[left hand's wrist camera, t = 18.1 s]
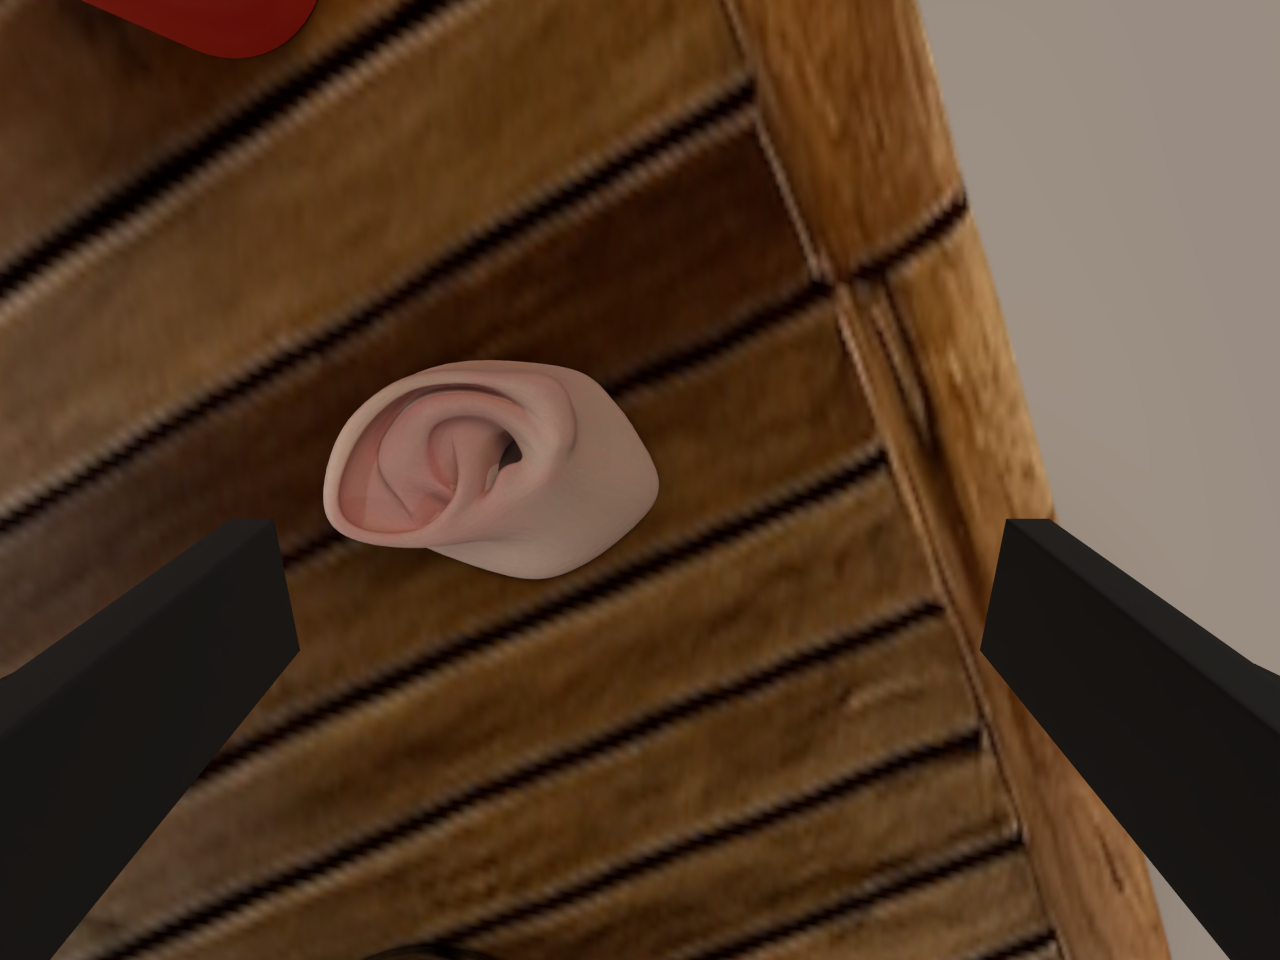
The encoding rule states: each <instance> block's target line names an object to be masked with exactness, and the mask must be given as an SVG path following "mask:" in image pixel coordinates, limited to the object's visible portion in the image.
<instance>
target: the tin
mask: <svg viewBox="0 0 1280 960" xmlns="http://www.w3.org/2000/svg"><path fill="white" fill-rule="evenodd" d="M82 1H84V2H86V3H89V4H91V5H93V6H96V7H98V8H100V9H102V10H105V11H107V12H109V13H112V14H114V15H116V16H118V17H121V18H123V19H125V20H127V21H130V22H132V23H134V24H137V25H139V26H141V27H143V28H146V29H148V30H150V31H153V32H155V33H157V34H159V35H162V36H164V37H166V38H168V39H171V40H173V41H175V42H178V43H180V44H182V45H184V46H187V47H189V48H191V49H194V50H196V51H199V52H202V53H205V54H208V55H212V56H217V57H221V58H235V59H236V58H248V57H253V56H257V55H261V54H264V53H267V52H269V51H271V50H274V49H276V48H277V47H279V46H280V45H282V44H283V43H285V42H286V41H288V40H289V39H290V38H291V37H292V36H293V35H294V34H296V33H297V31H298V30H299V29H300V28H301V27H302V25H303V24H304V23H305V22H306V20H307V18H308V17H309V15H310V13H311V12H312V10H313V8H314V5H315V3H316V1H317V0H82Z"/></svg>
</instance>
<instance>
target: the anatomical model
mask: <svg viewBox="0 0 1280 960" xmlns="http://www.w3.org/2000/svg"><path fill="white" fill-rule="evenodd" d="M658 490H659V480H658V475H657V471H656V468H655V466H654V464H653V462H652V459H651V457H650V455H649V453H648V451H647V450H646V448H645V446H644V445H643V443H642V441H641V440H640V438H639V436H638V434H637V433H636V431H635V429H634V428H633V426H632V425H631V423H630V422H629V420H628V419H627V417H626V416H625V414H624V413H623V412H622V411H621V409H620V408H619V407H618V406H617V405H616V403H615V402H614V401H613V400H612V399H611V397H610V396H609V395H608V394H607V393H606V392H605V390H604V389H603V388H602V387H601V386H600V385H599V384H598V383H596V382H595V381H594V380H593V379H591V378H590V377H588V376H587V375H585V374H583V373H581V372H578V371H576V370H573V369H569V368H564V367H560V366H554V365H546V364H539V363H529V362H517V361H497V360H483V361H464V362H457V363H449V364H444V365H441V366H437V367H433V368H429V369H427V370H424V371H421V372H419V373H416V374H414V375H411V376H408V377H405V378H403V379H400V380H398V381H396V382H394V383H392V384H391V385H389V386H387V387H385V388H384V389H382V390H381V391H379V392H378V393H377V394H375V395H374V396H372V397H371V398H370V399H369V400H368V401H366V402H365V403H364V404H363V405H362V406H361V407H360V408H359V409H358V410H357V411H356V412H355V413H354V414H353V415H352V417H351V418H350V419H349V420H348V421H347V423H346V424H345V426H344V427H343V429H342V430H341V432H340V434H339V436H338V438H337V440H336V442H335V445H334V447H333V450H332V453H331V456H330V459H329V463H328V466H327V471H326V476H325V482H324V495H323V498H324V508H325V512H326V515H327V518H328V520H329V521H330V523H331V524H332V525H333V527H334V528H335V529H336V530H338V531H339V532H340V533H342V534H343V535H345V536H347V537H349V538H352V539H355V540H357V541H360V542H365V543H369V544H374V545H380V546H388V547H400V548H428V549H431V550H433V551H436V552H438V553H441V554H443V555H445V556H448V557H451V558H454V559H456V560H459V561H462V562H465V563H467V564H470V565H473V566H476V567H479V568H483V569H486V570H489V571H492V572H496V573H500V574H504V575H507V576H512V577H518V578H526V579H544V578H550V577H554V576H558V575H562V574H564V573H567V572H569V571H572V570H574V569H576V568H578V567H580V566H582V565H584V564H586V563H588V562H589V561H591V560H592V559H594V558H595V557H597V556H599V555H600V554H602V553H603V552H604V551H606V550H607V549H608V548H610V547H611V546H612V545H613V544H615V543H616V542H617V541H619V540H620V539H621V538H622V537H623V536H624V535H625V534H627V533H628V532H629V531H630V530H631V529H632V528H633V527H634V526H635V525H636V524H637V523H638V522H639V521H640V520H641V519H642V518H643V517H644V516H645V515H646V514H647V512H648V511H649V510H650V508H651V507H652V505H653V504H654V502H655V500H656V498H657V494H658Z"/></svg>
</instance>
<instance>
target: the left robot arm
mask: <svg viewBox="0 0 1280 960" xmlns="http://www.w3.org/2000/svg"><path fill="white" fill-rule="evenodd" d="M299 651H300V648H299V643H298V638H297V633H296V628H295V623H294V618H293V613H292V608H291V603H290V598H289V593H288V588H287V583H286V578H285V573H284V568H283V563H282V558H281V553H280V548H279V543H278V538H277V533H276V528H275V523H274V519H230V520H229V521H227V522H226V523H224V524H223V525H222V526H220V527H219V528H217V529H216V530H214V531H213V532H212V533H210V534H209V535H207V536H206V537H205V538H203V539H202V540H200V541H199V542H198V543H196V544H195V545H193V546H192V547H190V548H189V549H188V550H186V551H185V552H183V553H182V554H181V555H179V556H178V557H176V558H175V559H173V560H172V561H171V562H169V563H168V564H166V565H165V566H164V567H162V568H161V569H159V570H158V571H157V572H155V573H154V574H152V575H151V576H149V577H148V578H147V579H145V580H144V581H142V582H141V583H140V584H138V585H137V586H135V587H134V588H133V589H131V590H130V591H128V592H127V593H125V594H124V595H123V596H121V597H120V598H118V599H117V600H116V601H114V602H113V603H111V604H110V605H108V606H107V607H106V608H104V609H103V610H101V611H100V612H99V613H97V614H96V615H94V616H93V617H92V618H90V619H89V620H87V621H86V622H84V623H83V624H82V625H80V626H79V627H77V628H76V629H75V630H73V631H72V632H70V633H69V634H68V635H66V636H65V637H63V638H62V639H60V640H59V641H58V642H56V643H55V644H53V645H52V646H51V647H49V648H48V649H46V650H45V651H43V652H42V653H41V654H39V655H38V656H36V657H35V658H34V659H32V660H31V661H29V662H28V663H27V664H25V665H24V666H22V667H21V668H19V669H18V670H17V671H15V672H14V673H12V674H9V675H7V676H5V677H3V678H1V679H0V960H50V959H51V958H52V956H53V955H54V954H55V953H56V952H57V950H58V949H59V948H60V947H61V945H62V944H63V943H64V942H65V940H66V939H67V938H68V937H69V935H70V934H71V933H72V932H73V930H74V929H75V928H76V927H77V926H78V924H79V923H80V922H81V921H82V919H83V918H84V917H85V916H86V914H87V913H88V912H89V911H90V909H91V908H92V907H93V906H94V904H95V903H96V902H97V901H98V900H99V898H100V897H101V896H102V895H103V893H104V892H105V891H106V890H107V888H108V887H109V886H110V885H111V883H112V882H113V881H114V880H115V878H116V877H117V876H118V875H119V874H120V872H121V871H122V870H123V869H124V867H125V866H126V865H127V864H128V862H129V861H130V860H131V859H132V857H133V856H134V855H135V854H136V852H137V851H138V850H139V849H140V848H141V846H142V845H143V844H144V843H145V841H146V840H147V839H148V838H149V836H150V835H151V834H152V833H153V831H154V830H155V829H156V828H157V827H158V825H159V824H160V823H161V822H162V820H163V819H164V818H165V817H166V815H167V814H168V813H169V812H170V810H171V809H172V808H173V807H174V805H175V804H176V803H177V802H178V801H179V799H180V798H181V797H182V796H183V794H184V793H185V792H186V791H187V789H188V788H189V787H190V786H191V784H192V783H193V782H194V781H195V779H196V778H197V777H198V776H199V775H200V773H201V772H202V771H203V770H204V768H205V767H206V766H207V765H208V763H209V762H210V761H211V760H212V758H213V757H214V756H215V755H216V753H217V752H218V751H219V750H220V749H221V747H222V746H223V745H224V744H225V742H226V741H227V740H228V739H229V737H230V736H231V735H232V734H233V732H234V731H235V730H236V729H237V727H238V726H239V725H240V724H241V723H242V721H243V720H244V719H245V718H246V716H247V715H248V714H249V713H250V711H251V710H252V709H253V708H254V706H255V705H256V704H257V703H258V702H259V700H260V699H261V698H262V697H263V695H264V694H265V693H266V692H267V690H268V689H269V688H270V687H271V685H272V684H273V683H274V682H275V680H276V679H277V678H278V677H279V676H280V674H281V673H282V672H283V671H284V669H285V668H286V667H287V666H288V664H289V663H290V662H291V661H292V659H293V658H294V657H295V656H296V654H297V653H298V652H299ZM980 651H981V652H982V653H983V654H984V656H985V657H986V658H987V659H988V661H989V662H990V663H991V664H992V666H993V667H994V668H995V669H996V671H997V672H998V673H999V674H1000V676H1001V677H1002V678H1003V679H1004V680H1005V682H1006V683H1007V684H1008V685H1009V687H1010V688H1011V689H1012V690H1013V692H1014V693H1015V694H1016V695H1017V697H1018V698H1019V699H1020V700H1021V702H1022V703H1023V704H1024V705H1025V706H1026V708H1027V709H1028V710H1029V711H1030V713H1031V714H1032V715H1033V716H1034V718H1035V719H1036V720H1037V721H1038V723H1039V724H1040V725H1041V726H1042V727H1043V729H1044V730H1045V731H1046V732H1047V734H1048V735H1049V736H1050V737H1051V739H1052V740H1053V741H1054V742H1055V744H1056V745H1057V746H1058V747H1059V749H1060V750H1061V751H1062V752H1063V753H1064V755H1065V756H1066V757H1067V758H1068V760H1069V761H1070V762H1071V763H1072V765H1073V766H1074V767H1075V768H1076V770H1077V771H1078V772H1079V773H1080V775H1081V776H1082V777H1083V778H1084V779H1085V781H1086V782H1087V783H1088V784H1089V786H1090V787H1091V788H1092V789H1093V791H1094V792H1095V793H1096V794H1097V796H1098V797H1099V798H1100V799H1101V801H1102V802H1103V803H1104V804H1105V805H1106V807H1107V808H1108V809H1109V810H1110V812H1111V813H1112V814H1113V815H1114V817H1115V818H1116V819H1117V820H1118V822H1119V823H1120V824H1121V825H1122V827H1123V828H1124V829H1125V830H1126V831H1127V833H1128V834H1129V835H1130V836H1131V838H1132V839H1133V840H1134V841H1135V843H1136V844H1137V845H1138V846H1139V848H1140V849H1141V850H1142V851H1143V852H1144V854H1145V855H1146V856H1147V857H1148V859H1149V860H1150V861H1151V862H1152V864H1153V865H1154V866H1155V867H1156V869H1157V870H1158V871H1159V872H1160V874H1161V875H1162V876H1163V877H1164V878H1165V880H1166V881H1167V882H1168V883H1169V885H1170V886H1171V887H1172V888H1173V890H1174V891H1175V892H1176V893H1177V895H1178V896H1179V897H1180V898H1181V900H1182V901H1183V902H1184V903H1185V904H1186V906H1187V907H1188V908H1189V909H1190V911H1191V912H1192V913H1193V914H1194V916H1195V917H1196V918H1197V919H1198V921H1199V922H1200V923H1201V924H1202V926H1203V927H1204V928H1205V929H1206V930H1207V932H1208V933H1209V934H1210V935H1211V937H1212V938H1213V939H1214V940H1215V942H1216V943H1217V944H1218V945H1219V947H1220V948H1221V949H1222V950H1223V952H1224V953H1225V954H1226V955H1227V956H1228V958H1229V959H1230V960H1280V676H1279V675H1277V674H1275V673H1273V672H1271V671H1269V670H1267V669H1264V668H1262V667H1260V666H1258V665H1256V664H1253V663H1252V662H1251V661H1249V660H1248V659H1246V658H1245V657H1243V656H1242V655H1241V654H1239V653H1238V652H1237V651H1235V650H1234V649H1232V648H1231V647H1229V646H1228V645H1227V644H1225V643H1224V642H1222V641H1221V640H1220V639H1218V638H1217V637H1215V636H1214V635H1212V634H1211V633H1210V632H1208V631H1207V630H1205V629H1204V628H1203V627H1201V626H1200V625H1198V624H1197V623H1195V622H1194V621H1193V620H1191V619H1190V618H1188V617H1187V616H1186V615H1184V614H1183V613H1181V612H1180V611H1179V610H1177V609H1176V608H1174V607H1173V606H1172V605H1170V604H1169V603H1167V602H1166V601H1164V600H1163V599H1162V598H1160V597H1159V596H1157V595H1156V594H1155V593H1153V592H1152V591H1150V590H1149V589H1147V588H1146V587H1145V586H1143V585H1142V584H1140V583H1139V582H1138V581H1136V580H1135V579H1133V578H1132V577H1131V576H1129V575H1128V574H1126V573H1125V572H1123V571H1122V570H1121V569H1119V568H1118V567H1116V566H1115V565H1114V564H1112V563H1111V562H1109V561H1108V560H1106V559H1105V558H1104V557H1102V556H1101V555H1099V554H1098V553H1097V552H1095V551H1094V550H1092V549H1091V548H1090V547H1088V546H1087V545H1085V544H1084V543H1082V542H1081V541H1080V540H1078V539H1077V538H1075V537H1074V536H1073V535H1071V534H1070V533H1068V532H1067V531H1066V530H1064V529H1063V528H1061V527H1060V526H1058V525H1057V524H1056V523H1054V522H1053V521H1051V520H1050V519H1006V523H1005V528H1004V533H1003V538H1002V543H1001V548H1000V553H999V558H998V563H997V568H996V573H995V578H994V583H993V588H992V593H991V598H990V603H989V608H988V613H987V618H986V623H985V628H984V633H983V638H982V643H981V648H980ZM365 960H495V959H492V958H490V957H487V956H484V955H481V954H478V953H474V952H471V951H466V950H462V949H456V948H449V947H436V946H422V947H409V948H402V949H396V950H392V951H387V952H384V953H381V954H377V955H375V956H372V957H370V958H367V959H365Z"/></svg>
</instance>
